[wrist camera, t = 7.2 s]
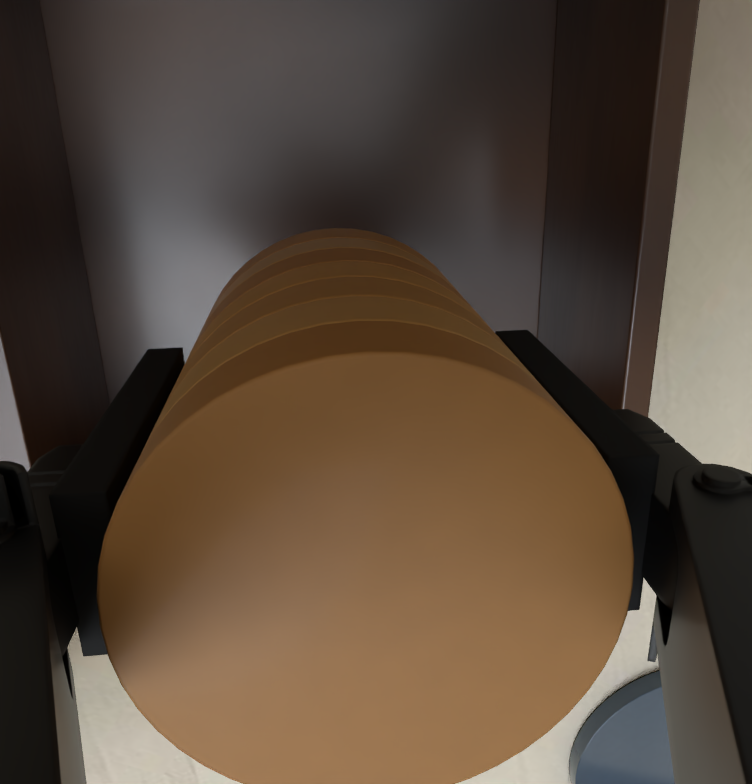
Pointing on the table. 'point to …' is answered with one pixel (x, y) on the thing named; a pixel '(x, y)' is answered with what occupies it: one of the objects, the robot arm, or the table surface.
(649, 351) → the chest
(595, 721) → the plate
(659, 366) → the table surface
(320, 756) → the cookies
